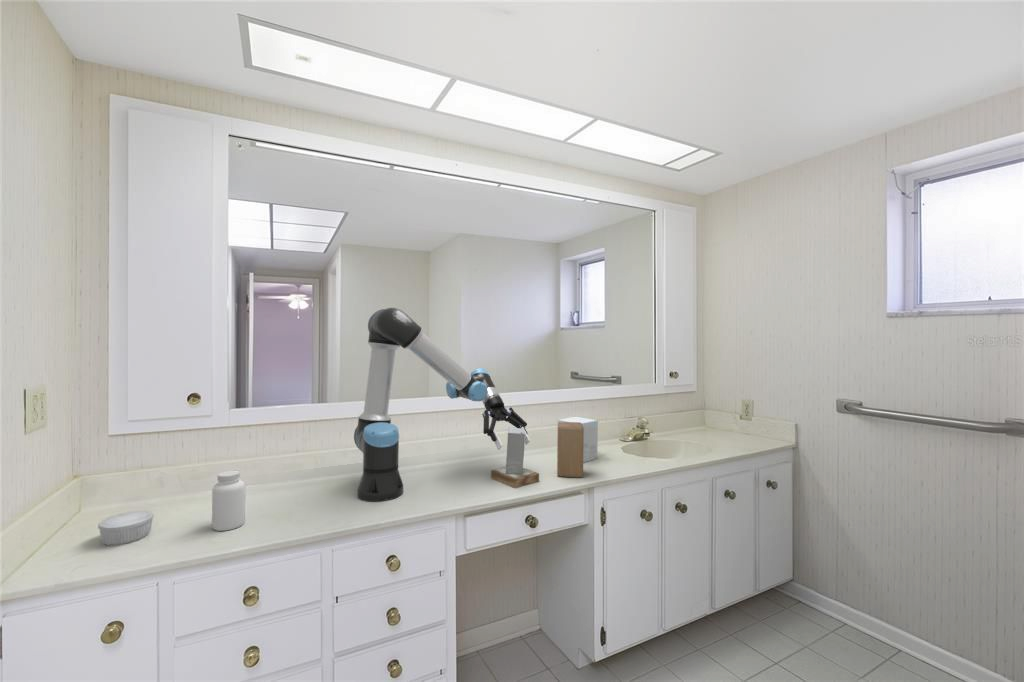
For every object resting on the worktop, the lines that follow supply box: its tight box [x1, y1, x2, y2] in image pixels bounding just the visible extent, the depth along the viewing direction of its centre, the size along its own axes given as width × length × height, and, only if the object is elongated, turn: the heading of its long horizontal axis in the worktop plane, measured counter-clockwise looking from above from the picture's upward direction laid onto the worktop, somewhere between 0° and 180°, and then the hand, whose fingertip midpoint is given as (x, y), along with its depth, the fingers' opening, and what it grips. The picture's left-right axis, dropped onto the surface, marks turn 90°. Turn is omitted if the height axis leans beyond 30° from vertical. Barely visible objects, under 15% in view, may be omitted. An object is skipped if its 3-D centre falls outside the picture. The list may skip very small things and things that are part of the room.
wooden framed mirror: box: [490, 466, 540, 489], centre depth 167 cm, size 12×14×3 cm
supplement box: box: [556, 416, 599, 464], centre depth 199 cm, size 13×13×18 cm
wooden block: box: [556, 422, 584, 479], centre depth 175 cm, size 10×10×20 cm
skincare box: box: [505, 427, 525, 474], centre depth 168 cm, size 8×7×16 cm
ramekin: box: [97, 509, 155, 546], centre depth 117 cm, size 11×11×5 cm
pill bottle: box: [211, 470, 247, 532], centre depth 125 cm, size 8×8×15 cm
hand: (514, 445), depth 168 cm, fingers open, 13 cm apart
